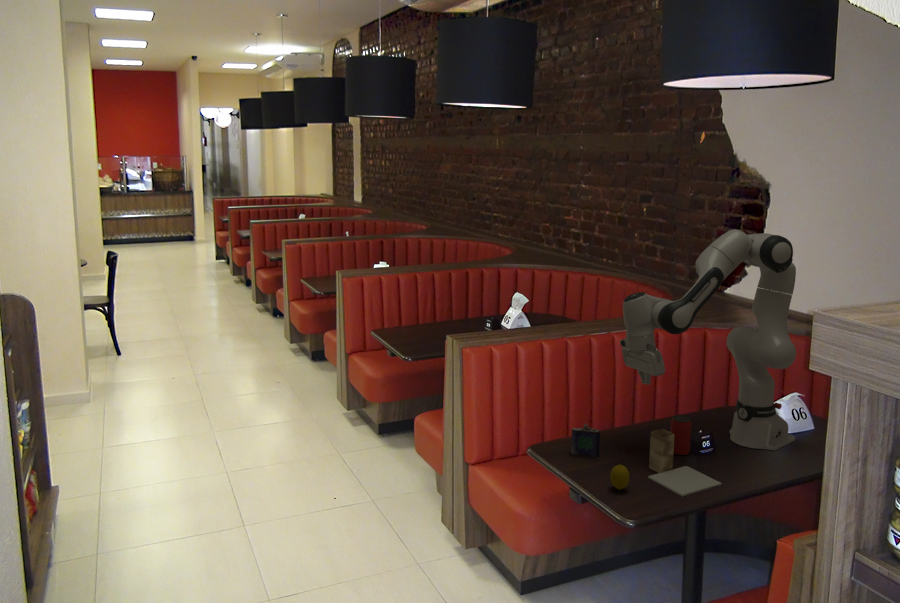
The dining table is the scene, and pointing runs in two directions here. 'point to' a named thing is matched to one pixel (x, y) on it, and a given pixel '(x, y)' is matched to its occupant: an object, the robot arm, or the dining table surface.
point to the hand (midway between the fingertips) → (646, 383)
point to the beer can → (681, 434)
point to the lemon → (619, 477)
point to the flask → (585, 442)
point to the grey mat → (684, 481)
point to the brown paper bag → (661, 450)
